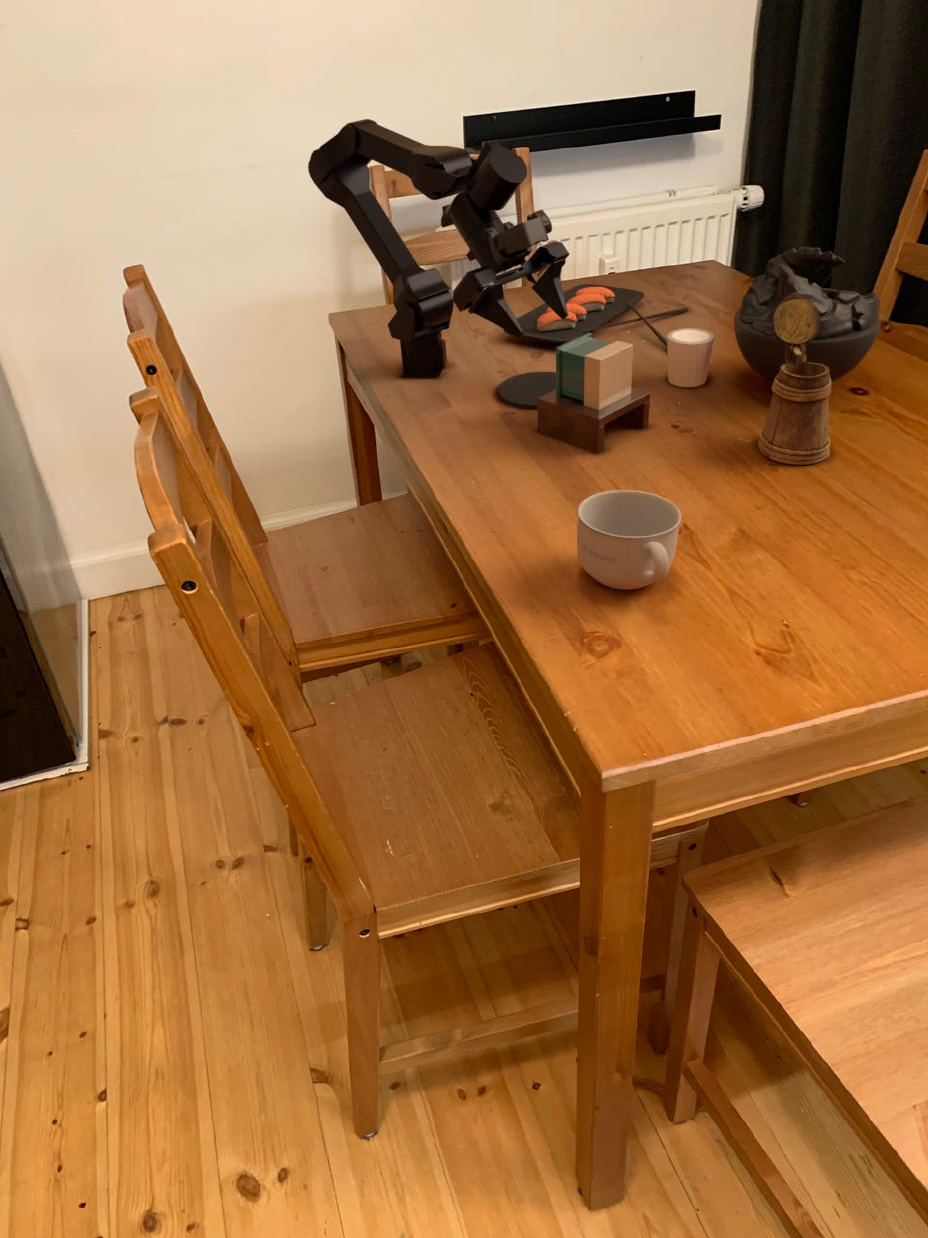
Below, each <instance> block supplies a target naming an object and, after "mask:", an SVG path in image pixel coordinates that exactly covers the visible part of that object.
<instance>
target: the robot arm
mask: <svg viewBox="0 0 928 1238" xmlns="http://www.w3.org/2000/svg"><path fill="white" fill-rule="evenodd" d="M372 161H374V162H376V163H378V164H380V165H382V166H385V167H386V168H389V169H391V170H393V171H395V172H397V173H400V174H402V175H404V176H406V177H407V178H409V179H410V181H411V184H412V186H413V188H414V189H415V190H417V191H418V192H419V193H421V194H422V195H423V196H425V197H426V198H427V199H429V200H431V201H438V200H443V199H445V198H449V197H452V196H454V198H453V199H452V201H451V202H450V203H449V204H446V205H443V206H442V208H441V209H442V213H441V218H440V226H441V228H447V227H449V226H453V225H454V227H455V229H456V230H457V232H458V233H459V235H460V236H461V238H462V239H463V241H464V243H465V244H466V246H467V248H468V249H469V251H468V252H467V253H466V258H467V259H468V260H469V262H472V261H475V260H476V262H477V263H478V265H479V266H480V267H478V268H474V269H472V270H469V271H467V272H466V273H465V274H464V276H463V277H462V278H461V280H460V281H459V283H457V285H456V286H455V287H454V289H452V294H451V292H450V290H451V287H450V286H449V285H448V284H447V283H446V282H445V280H444V279H443V277H442V275H441V273H440V271H439V270H438V269H437V268H436V267H432V268H429V269H425V268H423V267H421V266H420V265H419V264H418V263H417V261H416V259H415V257H414V256H413V255H412V253H411V251H410V250H409V248H408V247H407V245H406V243H405V242H404V240H403V239H402V237H401V236H400V234H399V233H398V231H397V229H396V227H395V226H394V224H393V223H392V221H391V220H390V218H389V216H388V215H387V213H386V212H385V210H384V209H383V207H382V206H381V204H380V203H379V201H378V199H377V198H376V196H375V194H374V193H373V191H372V190H371V178H370V176H371V175H370V168H369V166H368V165H369V164H370V163H371V162H372ZM307 163H308V164H307V171H308V174H309V177H310V178H311V180H312V182H313V184H314V185H315V186H316V188H317V189H318V190H319V191H320V192H321V194H322V195H323V196H324V197H325V198H326V199H328V200H329V201H331V202H332V203H333V204H336V205H338V206H339V207H341V208H343V209H344V211H345V212H346V213H347V215H348V217H349V219H350V220H351V222H352V223H353V224H354V226H355V228H356V230H357V231H358V232H359V234H360V236H361V237H362V239H363V240H364V242H365V243H366V245H367V247H368V248H369V250H370V251H371V253H372V255H373V256H374V258H375V259H376V261H377V262H378V264H379V266H380V267H381V269H382V271H383V272H384V274H385V275H386V277H387V278H388V280H389V281H390V283H391V286H392V303H393V304H392V305H393V307H394V308H395V311H396V312H395V314H394V315H393V316H392V317H391V319H390V320H389V322H388V323H387V328H388V331H389V334H390V336H391V338H392V339H395V340H398V341H399V345H400V355H401V366H402V370H401V371H400V374H399V375H400V378H401V377H402V378H439V377H441V376H442V375H441V374H442V373H443V371H444V370H445V368H446V366H447V364H448V356H447V355H448V354H447V344H446V342H447V341H446V339H445V338H443V335H442V334H443V333H442V331H444V330H449V329H450V325H451V320H452V316H453V312H454V305H455V306H456V308H457V309H458V311H459V312H460V313H462V312H465V311H467V312H468V314H469V315H472V314H474V315H476V316H478V317H481V318H482V319H484V320H487V321H488V322H490V323H492V324H495V325H496V326H497V327H499V328H501V329H503V331H504V330H506V331H507V332H509V333H511V334H512V335H511V336H513V337H516V338H517V339H520V338H523V337H522V335H523V334H524V332H523V330H522V328H521V326H520V324H519V322H518V320H517V319H518V318H517V317H516V315H515V313H514V312H513V310H512V308H511V306H510V305H509V303H508V302H507V300H506V298H505V294H504V285H507V284H509V283H512V282H514V281H515V282H516V281H517V280H521V279H522V278H526V280H527V282H529V283H532V284H533V285H532V286H531V290H533V292H534V293H535V294H536V295H537V296H538V297H540V299H541V300H542V301H543V302H544V303H546V304H547V305H548V306H549V307H550V308H551V309H552V310H553V311H554V312H555V313H556V314H557V315H558V316H559V317H560V318H562V319H565V318H566V317H567V316H568V311H567V307H566V303H565V298H564V294H563V293H564V291H563V286H562V279H561V278H562V277H561V275H562V269H563V267H564V266H565V265H566V263H567V262H566V261H567V258H568V257H569V256H570V252H569V251H568V250H567V248H566V246H565V245H564V243H563V242H562V241H557V240H555V241H552V242H549V243H546V242H548V241H549V240H550V239H549V236H548V234H550V233H551V232H552V231H553V225H552V220H551V219H550V217H549V216H548V214H546V213H545V211H544V209H540V210H537V211H534V212H532V213H530V214H528V215H527V216H526V221H522V222H520V223H517V224H516V225H515V224H514V223H513V222H511V221H505V222H503V221H502V219H501V218H500V216H499V215H498V212H497V211H502V210H503V209H504V208H505V207H506V206H507V204H508V203H509V202H510V200H511V199H512V197H513V196H514V195H515V194H516V192H517V190H518V189H519V188H520V187H521V186H522V184H523V182H525V180H526V179H527V175H528V168H527V164H526V162H525V160H524V159H523V158H522V156H521V155H518V154H517V153H516V151H515V152H514V151H513V150H512V149H510V148H508V147H505V146H502V145H501V144H500V142H499V140H498V139H494V140H490V141H487V142H485V143H484V145H483V146H482V148H481V150H480V152H479V155H478V156H477V157H476V158H475V157H471V154H470V153H469V151H467V150H466V149H464V148H461V147H458V146H450V145H429V144H424V143H421V142H419V141H417V140H414V139H412V138H410V137H407V136H406V135H404V134H401V133H399V132H396V131H394V130H391V129H390V128H387V127H385V126H383V125H380V124H378V123H377V122H376V121H375V120H372V119H370V118H365V119H360V120H356V121H351V122H347V123H346V124H345V125H344V126H342V127H341V128H340V130H339V131H338V132H337V134H335V135H334V136H333V137H331V138H330V139H328V140H327V141H325V142H324V143H323V144H321V145H320V146H319V147H318V148H317V149H315V150H314V149H313V150H312V153H311V154H310V157H309V161H308V162H307ZM541 242H542V243H545V244H543V245H540V246H538V248H537V249H536V250H535V251H534V250H533V248H532V247H533V246H535V245H537V244H539V243H541ZM533 251H534V253H533V254H532V255H531V253H532V252H533ZM530 255H531V256H530ZM527 256H530V257H529V259H527V260H526V257H527Z"/></svg>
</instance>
